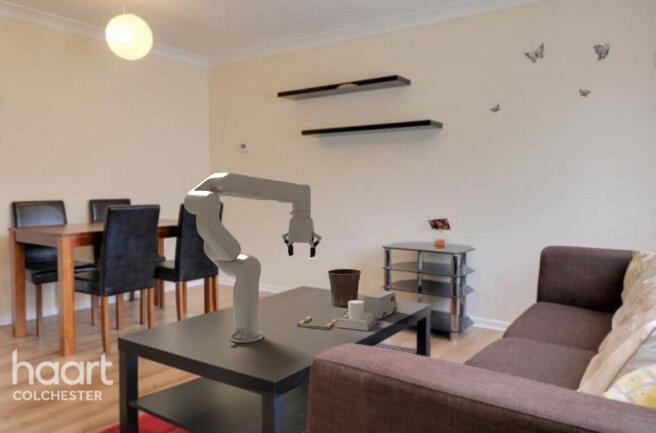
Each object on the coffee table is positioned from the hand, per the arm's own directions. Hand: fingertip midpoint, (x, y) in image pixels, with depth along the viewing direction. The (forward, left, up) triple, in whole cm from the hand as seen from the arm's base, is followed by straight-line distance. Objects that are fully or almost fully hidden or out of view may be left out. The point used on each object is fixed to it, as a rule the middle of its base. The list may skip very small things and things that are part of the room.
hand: (301, 256), depth 198 cm
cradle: (+3, -6, -28) cm, 29 cm away
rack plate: (+8, -21, -28) cm, 36 cm away
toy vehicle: (+26, -27, -29) cm, 47 cm away
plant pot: (+38, -5, -28) cm, 48 cm away
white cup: (+8, -21, -26) cm, 34 cm away
